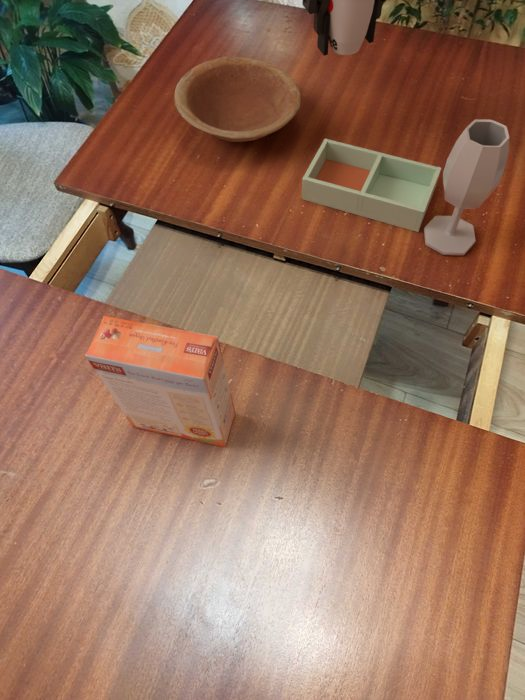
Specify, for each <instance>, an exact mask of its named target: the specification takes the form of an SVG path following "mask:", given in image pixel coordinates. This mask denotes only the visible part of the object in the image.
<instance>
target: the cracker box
mask: <svg viewBox="0 0 525 700" xmlns="http://www.w3.org/2000/svg"><path fill="white" fill-rule="evenodd" d="M84 356H85V358H86V359H87V361H88V362H89V364H90V365H91V367H92V368H93V370H94V371H95V373H96V374H97V376H98V377H99V379H100V380H101V382H102V384H103V385H104V386H105V389H106V390H107V391H108V392H109V394H110V395H111V397H112V398H113V400H114V401H115V403H116V404H117V406H118V407H119V409H120V410H121V412H122V413H123V415H124V416H125V417H126V419H127V421H128V422H129V424H130V425H131V427H132V428H136V429H139V430H144V431H149V432H153V433H158V434H161V435H162V434H163V435H167V436H172V437H177V438H181V439H185V440H190V441H195V442H199V443H203V444H208V445H213V446H217V447H220V448H221V447H222V448H225V447H226V446H227V442H228V439H229V435H230V433H231V429H232V426H233V422H234V418H235V416H236V408H235V405H234V400H233V395H232V392H231V391H232V390H231V387H230V382H229V379H228V373H227V370H226V364H225V361H224V358H223V357H224V356H223V353H222V349H221V344H220V341H219V337H218V336H217V335H210V334H205V333H201V332H200V333H199V332H194V331H189V330H184V329H179V328H178V329H177V328H173V327H166V326H163V325H162V326H161V325H157V324H151V323H146V322H141V321H135V320H131V319H126V318H119V317H115V316H109V315H104V316H102V319H101V322H100V324H99V326H98V327H97V330H96V332H95V334H94V337H93V339H92V341H91V343H90V346H89V347H88V350H87V351H86V353H85V355H84Z"/></svg>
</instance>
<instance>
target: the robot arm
mask: <svg viewBox="0 0 525 700" xmlns="http://www.w3.org/2000/svg"><path fill="white" fill-rule="evenodd" d="M386 1H387V0H375V1H374V6H373V12H372V15H371V19H370V23H369V26H368V30H367V33H366V36H365V38H364V40H366V41H367V43H369V44H372V43H374V40H375V31H376V24H377V20H378V19H380V18H381V16H382V10H383V3H385V2H386ZM329 2H330V0H302V2H301V3H302V6H303V8H304V9H305V10H306V11H307V13H308V14H309V15H313V27H312V28H313V31H314V32H315V33H316V34H317V47H316V48H318V50H319V52H320V53H321V54H322V55H323V56H324V57H325V56H328V55H329V46H330V43H329V28H330V14H329V12H328V11H327V7H328V5H329Z"/></svg>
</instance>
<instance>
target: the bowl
mask: <svg viewBox="0 0 525 700" xmlns="http://www.w3.org/2000/svg"><path fill="white" fill-rule="evenodd" d="M301 96H302V95H301V91H300V88H299V86H298V83H297V82H296V81H295V80H294V78H293V77H292V76H291V75H290V74H288V73H287V72H286V71H285V70H283V69H282V68H280V67H279V66H277V65H274V64H272V63H270V62H267V61H264V60H262V59H259V58H252V57H244V56H229V55H227V56H226V55H225V56H221V57H217V58H214V59H209V60H207V61H204V62H201V63H200V64H197V65H195V66H194V67H192V68H190V69H189V70H188V71H187V72H186V73H185V74H184V75H183V76H181V78H180V79H179V80H178V82H177V84H176V86H175V89H174V95H173V99H174V104H175V107H176V110H177V111H178V113H179V115H180V116H181V117H182V118H183V120H185V121H186V122H187V123H188V124H189V125H191V126H192V127H194V128H196V129H197V130H200V131H202V132H204V133H207V134H209V135H210V136H212V137H214V138H216V139H218V140H220V141H225V142H230V143H243V142H244V143H245V142H252V141H257V140H259V139H263V138H264V137H267V136H269V135H271V134H272V133H275V132H277V131H279V130H280V129H282V128H284V127H285V126H286V125H287V124H288V123H289V122H290V121H292V120H293V119H294V118H295V115H297V113H298V112H299V109H300V107H301V102H302V101H301V100H302V99H301V98H302V97H301Z"/></svg>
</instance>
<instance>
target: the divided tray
mask: <svg viewBox="0 0 525 700" xmlns="http://www.w3.org/2000/svg"><path fill="white" fill-rule="evenodd" d="M441 171H442V167H440V166H436V165H432V164H428V163H423V162H421V161H416V160H412V159H409V158H404V157H400V156H396V155H392V154H388V153H384V152H380V151H377V150H372V149H370V148H368V149H367V148H364V147H361V146H356V145H353V144H348V143H345V142H341V141H338V140H333V139H329V138H324V139H323V140H322V142H321V144H320V147H319V148H318V149H317V152H316V153H315V155H314V157H313V159H312V160H311V163H310V164H309V166H308V167H307V170H306V172H305V173H304V174H303V176H302V179H301V182H302V183H301V200H302V201H307V202H309V203H313V204H316V205H321V206H324V207H328V208H331V209H335V210H338V211H343V212H346V213H349V214H353V215H356V216H359V217H363V218H366V219H370V220H373V221H377V222H381V223H384V224H386V225H387V224H388V225H392V226H395V227H398V228H402V229H405V230H408V231H412V232H416V233H419V232H420V229H421V227H422V224H423V221H424V218H425V216H426V214H427V211H428V208H429V206H430V203H431V201H432V198H433V196H434V193H435V191H436V188H437V186H438V182H439V178H440V175H441Z"/></svg>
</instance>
